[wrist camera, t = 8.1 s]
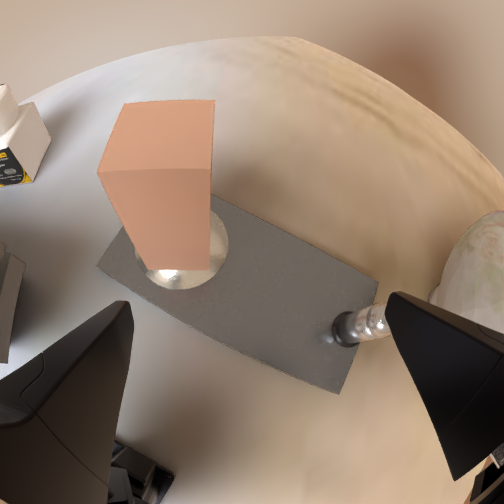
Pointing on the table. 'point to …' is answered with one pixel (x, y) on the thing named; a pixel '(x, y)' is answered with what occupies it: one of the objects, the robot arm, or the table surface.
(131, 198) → the post
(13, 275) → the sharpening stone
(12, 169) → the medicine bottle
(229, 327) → the drilled plate
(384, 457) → the table surface
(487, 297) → the ceramic pitcher
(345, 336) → the steel pin
